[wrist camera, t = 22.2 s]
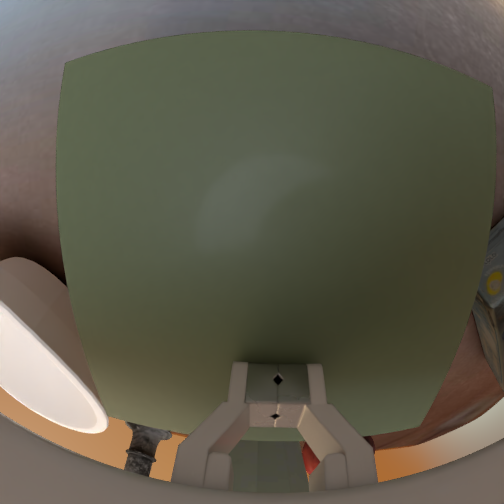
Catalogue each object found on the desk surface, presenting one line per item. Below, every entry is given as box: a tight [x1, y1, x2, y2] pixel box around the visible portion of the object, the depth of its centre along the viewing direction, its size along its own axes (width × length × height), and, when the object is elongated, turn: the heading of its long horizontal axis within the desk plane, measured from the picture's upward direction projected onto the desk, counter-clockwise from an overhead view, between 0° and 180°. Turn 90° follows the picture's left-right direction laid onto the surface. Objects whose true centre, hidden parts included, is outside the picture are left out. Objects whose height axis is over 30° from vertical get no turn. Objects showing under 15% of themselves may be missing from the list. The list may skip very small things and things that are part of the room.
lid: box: [56, 30, 496, 441], centre depth 9 cm, size 16×16×1 cm
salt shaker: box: [124, 421, 172, 477], centre depth 25 cm, size 6×6×12 cm
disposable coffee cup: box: [228, 440, 309, 493], centre depth 21 cm, size 11×11×15 cm
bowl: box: [0, 257, 108, 433], centre depth 19 cm, size 21×21×8 cm
